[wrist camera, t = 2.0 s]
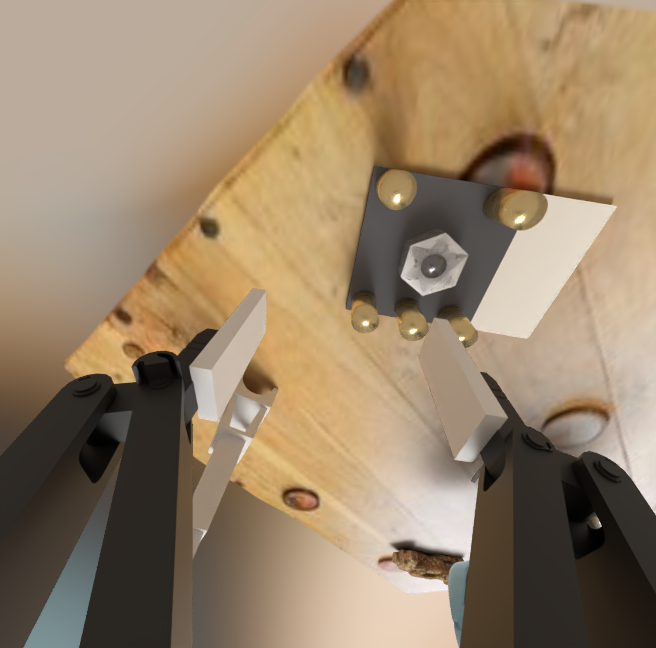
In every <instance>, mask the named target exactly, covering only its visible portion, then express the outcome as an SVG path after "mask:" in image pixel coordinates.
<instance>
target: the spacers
mask: <svg viewBox="0 0 656 648" xmlns="http://www.w3.org/2000/svg"><path fill="white" fill-rule="evenodd" d="M416 191H417V183H416V180H415V178H414V176H413V175H412V174H411V173H410V172H408V171H405V170H396V169H391V170H387V171H385V172H384V173H382V174H381V175H380V177H379V178H378V180H377V183H376V193H377V196H378V197H379V199H380V200H381V201H382V202H383V204H384V205H385V206H386V207H388V208H389V209H392V210H400V209H403V208H405V207H407V206H408V205H409V204H410V203H411V202H412V201H413V199H414V197H415V195H416ZM547 208H548V202H547V199H546V197H545V196H544V195H543V194H541V193H539V192H532V191H525V190H518V189H511V188H499V189H496V190H494V191H493V192H491V193H490V194H489V195H488V196H487V198H486V199H485V201H484V204H483V214H484V216H485V217H486V218H487V219H489V220H492V221H494V222H497V223H500V224H502V225H505V226H507V227H510V228H512V229H515V230H520V231H522V230H527V229H530V228H532V227H534V226H535V225H537V224H538V223H539V222H540V221H541V220H542V219H543V217H544V216H545V214H546V211H547ZM394 311H395V315H396V318H397V322H398V325H399V329H400V332H401V335H402V336H403V337H404V338H405V339H407V340H411V341H415V340H419V339H421V338H423V337H424V336H425V335H426V334H427V332H428V324H427V322H426V320H425V317H424V315H423V313H422V311H421V309H420V307H419V305H418V303H417V301H416V300H414V299H412V298H403V299H401V300H399V301H398V302H397V303H396V305H395V307H394ZM437 318H439V319H445V320H448V321H449V323H450V325H451V326H452V328H453V329H454V331H455V333H456V334H457V336H458V338H459V339H460V341H461V342H462V344H463V346H464V347H465V348H466V347H469V346H471V345H472V344H474V343H475V342H476V340H477V338H478V332H477V330H476V329H475V328H474V326H473V325H472V324H471V322H470V321H469V320H468V318H467V317H466V316H465V314H464V313H463V312H462V310H461V309H460V308H459V307H458V306H456V305H447V306H444V307H443V308H441V309H440V310H439V311H438V313H437ZM378 324H379V317H378V311H377V305H376V300H375V296H374V295H373V294H372V293H371V292H369V291H365V290H364V291H359V292H357V293H356V294H355V295H354V296H353V298H352V326H353V327H354V329H355V330H357V331H359V332H362V333H368V332H371V331H373V330H375V329H376V328H377V326H378Z"/></svg>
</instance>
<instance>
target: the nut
mask: <svg viewBox="0 0 656 648" xmlns="http://www.w3.org/2000/svg"><path fill="white" fill-rule="evenodd" d="M467 257H468V254H467V253H466V252H465V251H464V250H463V249H462V248H461V247H460V246H459V245H458V244H457V243H456V242H455V241H454V240H453V239H452V238H451V237H450V236H449V235H448V234H447V233H445V232H444V231H443V230H441V229H440V228H437V229H434V230H431V231H428V232H426V233H423V234H420V235H417V236H415V237H412V238H409V239H406V242H405V245H404V249H403V252H402V256H401V259H400V262H399V266H398V269H397V270H398V272H399V274H400V277H401V278H402V279H403V280H405V281H406V282H407V283H408V284H409V285H410V286H412V287H413V288H414V289H415V290H416V291H417V292H419V293H420V294H421V295H422V296H424V295H427V294H431V293H434V292H437V291H441V290H444V289H447V288H451V287H454V286H455V285H456V283H457V280H458V278H459V276H460V274H461V271H462V269H463V267H464V264H465V262H466V260H467Z"/></svg>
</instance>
